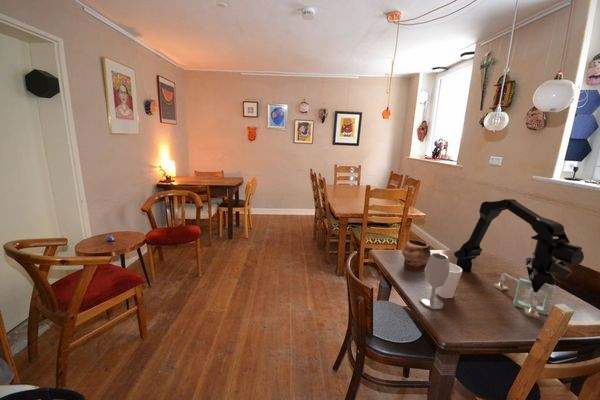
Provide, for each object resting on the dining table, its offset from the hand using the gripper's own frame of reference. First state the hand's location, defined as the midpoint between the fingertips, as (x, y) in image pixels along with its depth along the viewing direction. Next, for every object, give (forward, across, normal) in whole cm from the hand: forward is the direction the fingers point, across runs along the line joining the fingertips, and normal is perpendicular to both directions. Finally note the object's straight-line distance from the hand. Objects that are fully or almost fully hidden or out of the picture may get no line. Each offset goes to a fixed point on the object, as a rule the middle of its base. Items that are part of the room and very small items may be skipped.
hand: (534, 289), depth 106 cm
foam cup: (+9, -10, +30) cm, 33 cm away
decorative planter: (+9, +10, +45) cm, 47 cm away
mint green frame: (+9, 0, 0) cm, 9 cm away
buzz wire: (+9, +4, +5) cm, 11 cm away
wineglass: (+9, -21, +34) cm, 41 cm away
